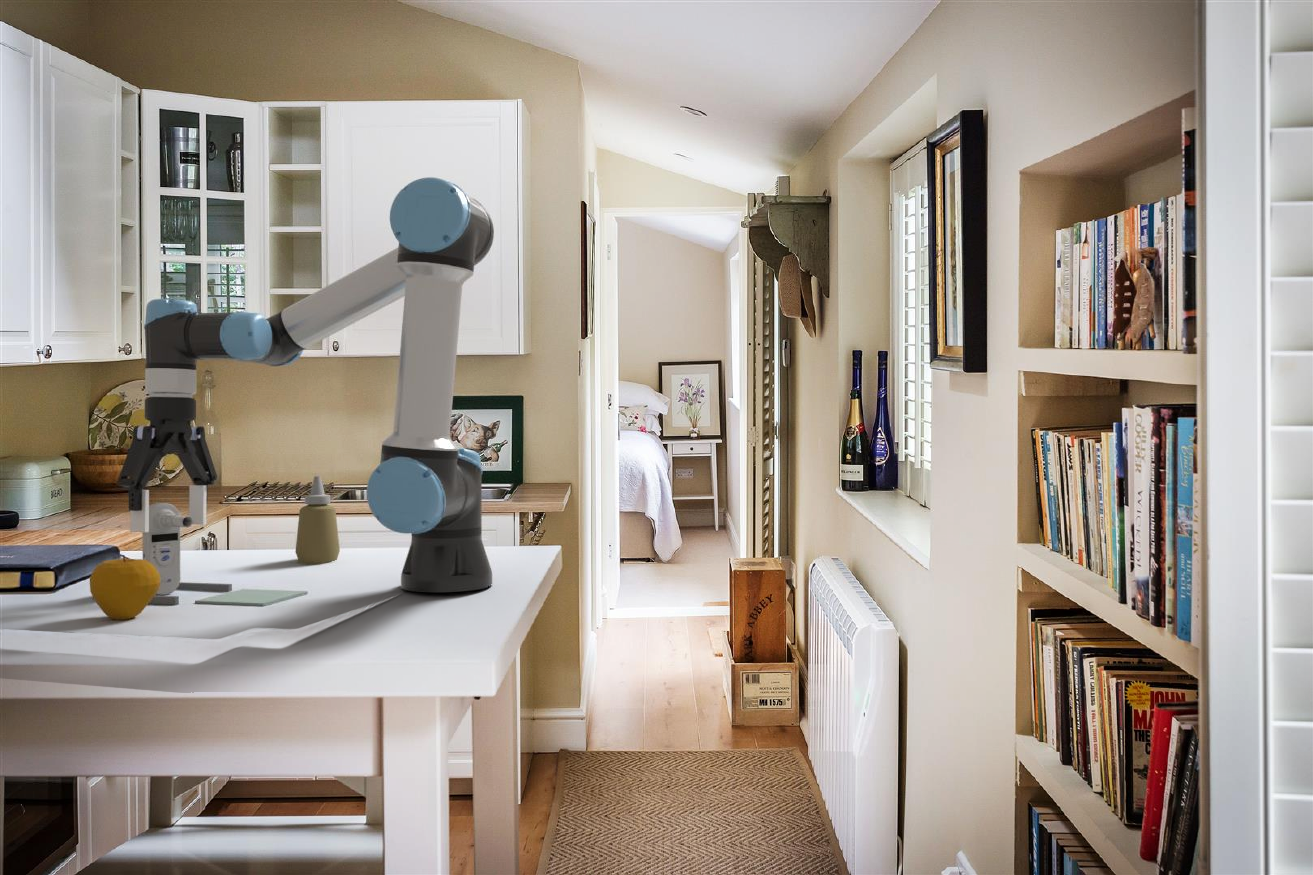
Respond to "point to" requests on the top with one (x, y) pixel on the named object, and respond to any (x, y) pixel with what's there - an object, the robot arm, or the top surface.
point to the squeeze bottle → (317, 528)
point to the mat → (251, 597)
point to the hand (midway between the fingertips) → (169, 528)
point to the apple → (124, 586)
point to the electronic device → (164, 544)
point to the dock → (190, 586)
